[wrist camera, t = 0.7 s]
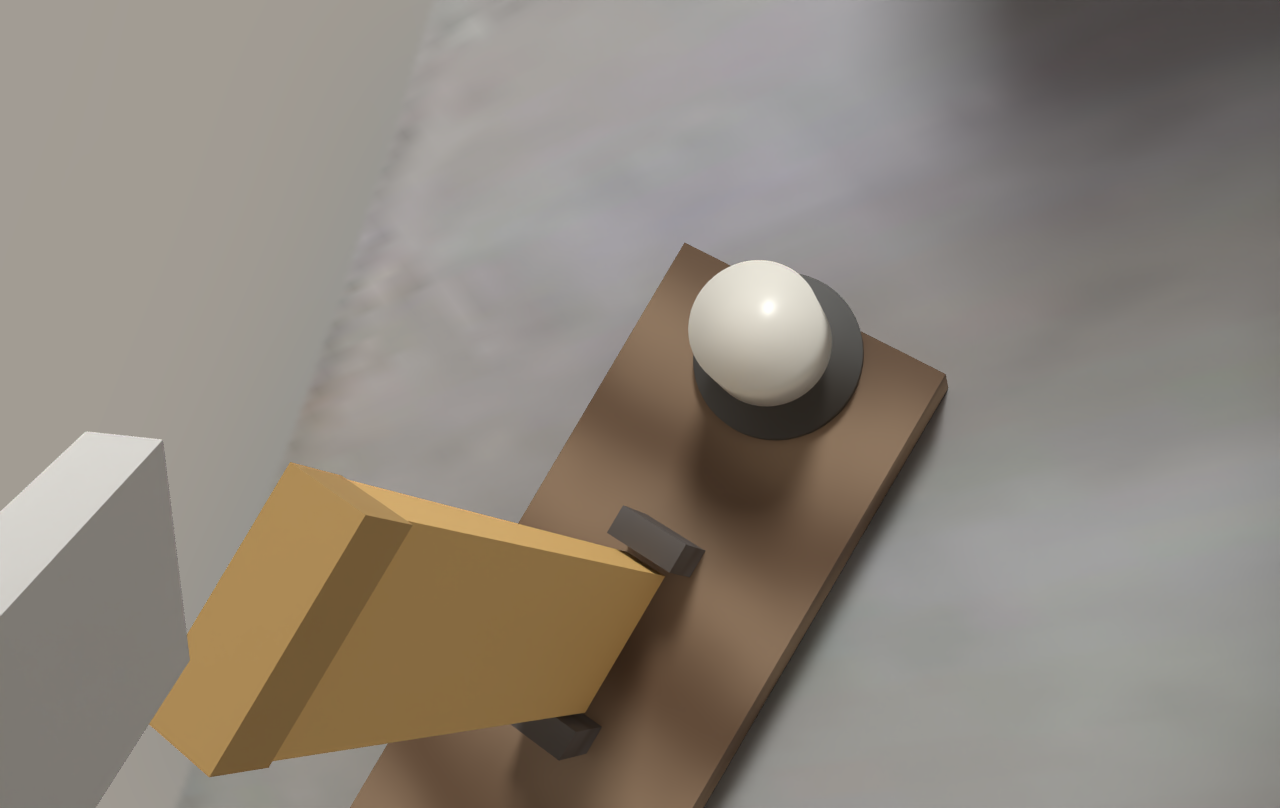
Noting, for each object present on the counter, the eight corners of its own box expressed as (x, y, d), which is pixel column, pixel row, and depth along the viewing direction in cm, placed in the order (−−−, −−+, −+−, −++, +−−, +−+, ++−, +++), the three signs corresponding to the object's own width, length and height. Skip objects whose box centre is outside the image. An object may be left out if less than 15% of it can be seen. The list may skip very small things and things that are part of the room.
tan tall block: (623, 549, 36) (289, 462, 19) (669, 578, 35) (365, 515, 18) (544, 683, 36) (138, 714, 19) (588, 715, 35) (209, 776, 18)
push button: (747, 263, 36) (731, 238, 34) (855, 318, 35) (845, 295, 32) (685, 369, 36) (664, 351, 34) (790, 429, 35) (776, 413, 32)
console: (710, 242, 41) (677, 196, 37) (960, 367, 37) (955, 332, 33) (345, 859, 40) (270, 883, 36) (563, 1047, 36) (507, 1098, 32)
